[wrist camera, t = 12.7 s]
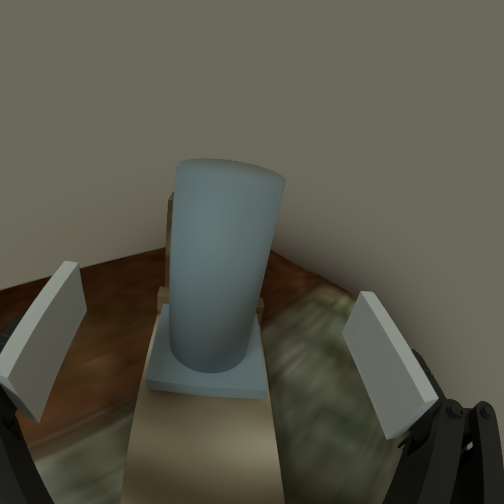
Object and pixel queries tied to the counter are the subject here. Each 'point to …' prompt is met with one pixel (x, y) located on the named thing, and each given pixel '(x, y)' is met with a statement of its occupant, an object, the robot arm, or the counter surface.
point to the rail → (200, 440)
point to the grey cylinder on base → (216, 280)
